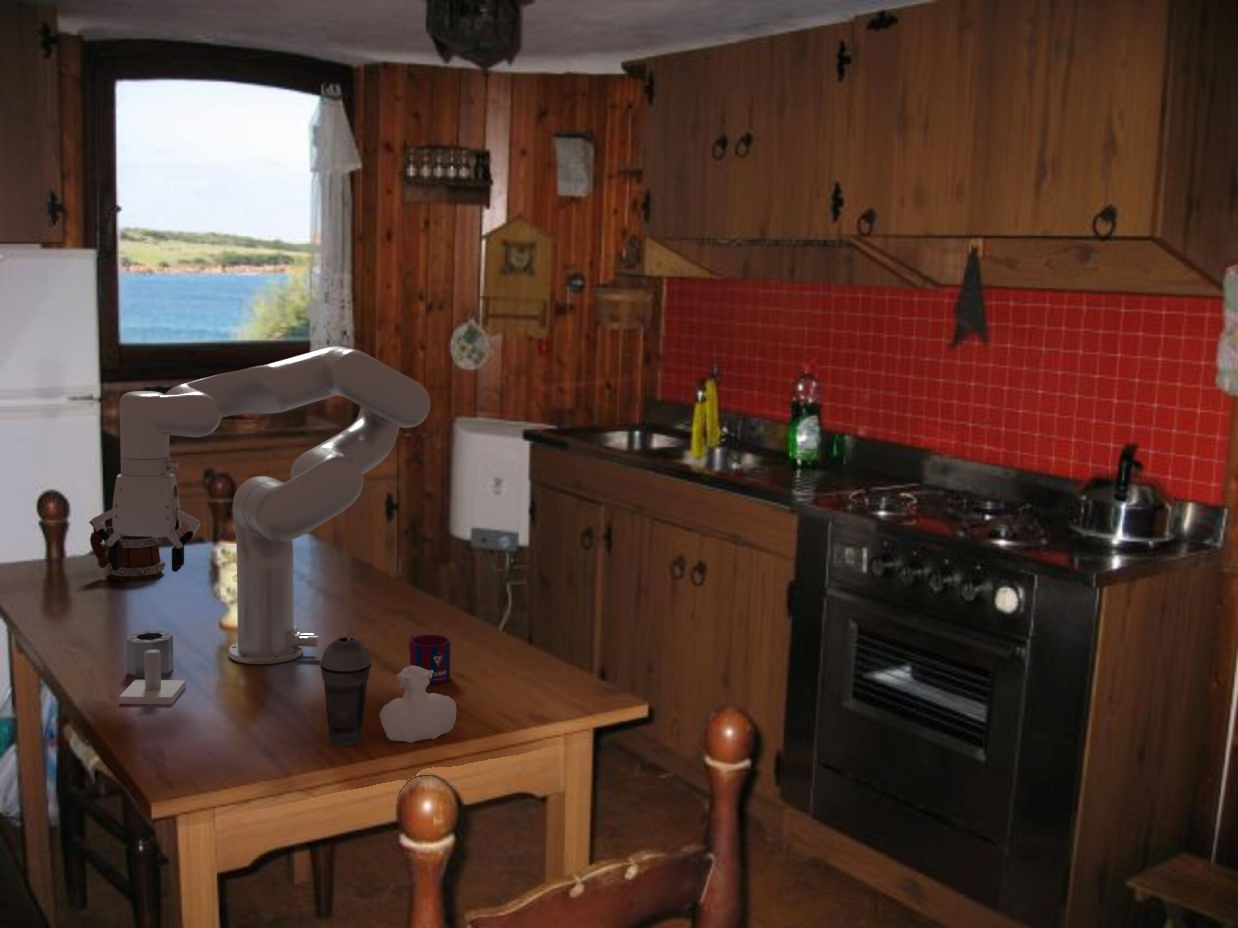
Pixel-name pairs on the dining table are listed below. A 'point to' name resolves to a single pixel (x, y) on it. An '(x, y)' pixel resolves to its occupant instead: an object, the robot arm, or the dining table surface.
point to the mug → (131, 557)
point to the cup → (431, 655)
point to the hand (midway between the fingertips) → (147, 569)
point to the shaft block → (152, 685)
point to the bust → (417, 709)
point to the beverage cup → (345, 688)
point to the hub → (149, 641)
